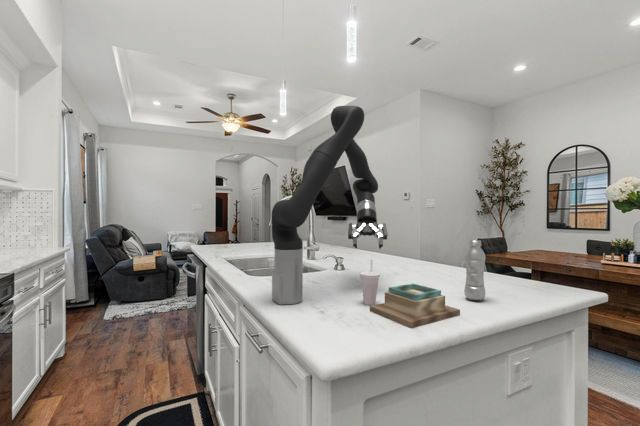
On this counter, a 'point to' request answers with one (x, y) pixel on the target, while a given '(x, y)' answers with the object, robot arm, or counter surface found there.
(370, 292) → the smoothie
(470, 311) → the counter surface
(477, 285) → the plastic bottle
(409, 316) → the pedestal
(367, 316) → the counter surface
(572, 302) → the counter surface
